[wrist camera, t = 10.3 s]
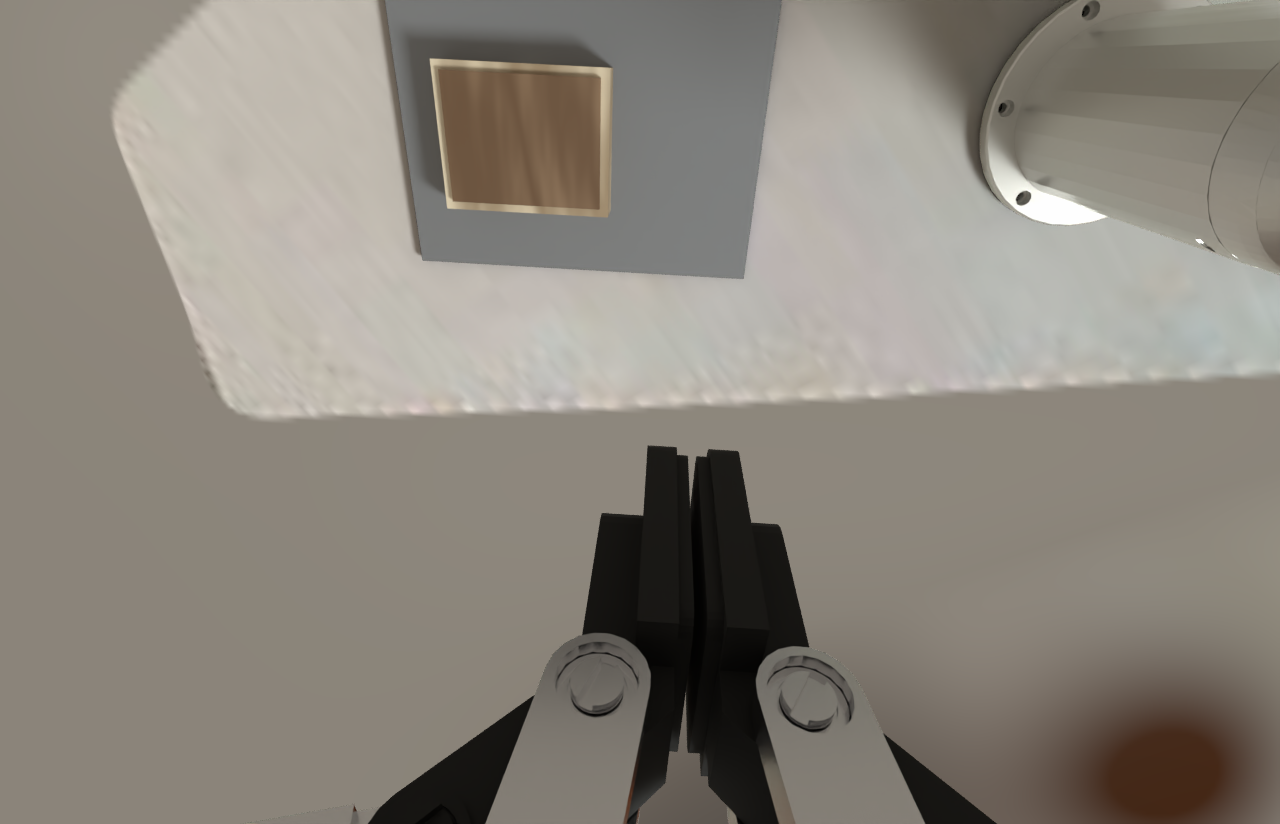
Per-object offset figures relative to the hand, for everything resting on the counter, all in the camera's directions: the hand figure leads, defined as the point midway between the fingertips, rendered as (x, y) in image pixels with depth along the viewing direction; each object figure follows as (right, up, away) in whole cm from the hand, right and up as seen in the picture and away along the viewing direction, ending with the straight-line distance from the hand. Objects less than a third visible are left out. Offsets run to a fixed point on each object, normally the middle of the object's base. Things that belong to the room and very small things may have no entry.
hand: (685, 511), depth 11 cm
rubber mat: (-4, +19, +25) cm, 32 cm away
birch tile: (-3, +18, +24) cm, 30 cm away
